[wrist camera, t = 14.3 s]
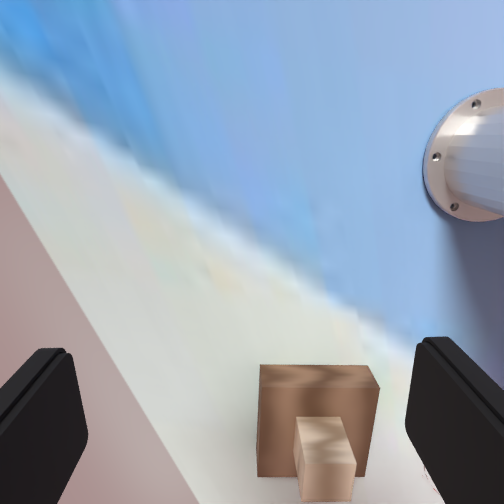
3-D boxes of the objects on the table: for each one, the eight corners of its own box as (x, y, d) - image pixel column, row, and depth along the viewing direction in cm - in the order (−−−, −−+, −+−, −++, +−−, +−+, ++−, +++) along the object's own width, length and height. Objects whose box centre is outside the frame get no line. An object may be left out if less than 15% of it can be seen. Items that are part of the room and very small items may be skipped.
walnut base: (367, 365, 43) (379, 388, 39) (354, 449, 47) (364, 476, 43) (260, 364, 42) (261, 387, 38) (256, 448, 46) (257, 477, 42)
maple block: (340, 416, 40) (356, 463, 34) (335, 451, 41) (350, 501, 36) (296, 416, 40) (305, 463, 34) (293, 451, 41) (301, 501, 36)
